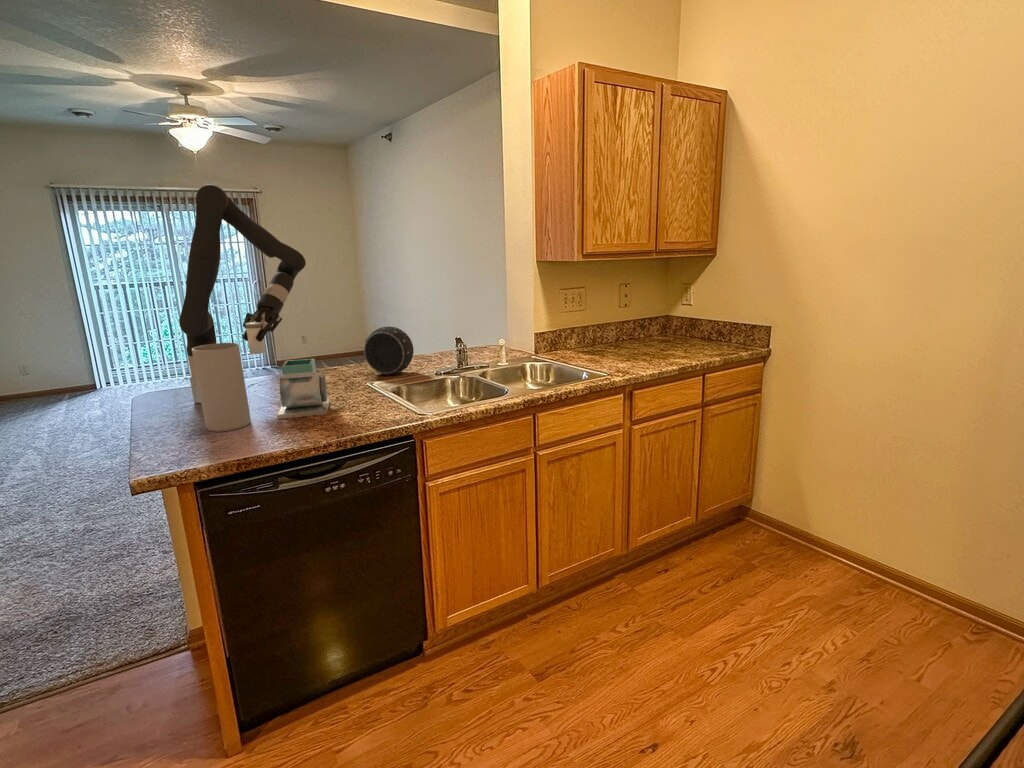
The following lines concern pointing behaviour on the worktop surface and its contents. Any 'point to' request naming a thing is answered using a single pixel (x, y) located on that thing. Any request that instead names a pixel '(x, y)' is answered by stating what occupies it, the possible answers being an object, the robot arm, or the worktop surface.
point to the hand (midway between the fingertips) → (251, 339)
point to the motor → (302, 390)
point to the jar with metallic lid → (254, 338)
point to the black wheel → (388, 350)
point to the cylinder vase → (221, 386)
